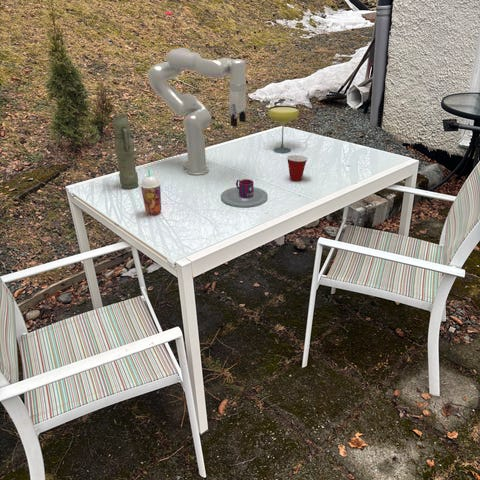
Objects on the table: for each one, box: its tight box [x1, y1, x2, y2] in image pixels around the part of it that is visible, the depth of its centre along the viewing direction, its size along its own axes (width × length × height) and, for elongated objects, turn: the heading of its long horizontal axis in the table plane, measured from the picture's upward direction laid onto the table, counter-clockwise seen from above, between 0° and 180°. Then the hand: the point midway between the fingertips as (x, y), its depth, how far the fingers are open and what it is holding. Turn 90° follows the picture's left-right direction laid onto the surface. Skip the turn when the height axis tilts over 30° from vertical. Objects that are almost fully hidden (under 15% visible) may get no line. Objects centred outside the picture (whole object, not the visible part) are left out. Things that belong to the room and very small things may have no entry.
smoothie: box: [140, 169, 162, 216], centre depth 190 cm, size 8×8×20 cm
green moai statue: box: [112, 114, 140, 191], centre depth 213 cm, size 9×12×35 cm
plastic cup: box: [286, 154, 309, 182], centre depth 225 cm, size 11×11×12 cm
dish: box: [220, 186, 269, 209], centre depth 207 cm, size 22×22×1 cm
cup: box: [235, 178, 255, 198], centre depth 206 cm, size 7×10×7 cm
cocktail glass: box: [267, 105, 300, 154], centre depth 263 cm, size 18×18×25 cm
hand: (238, 123), depth 216 cm, fingers open, 9 cm apart
